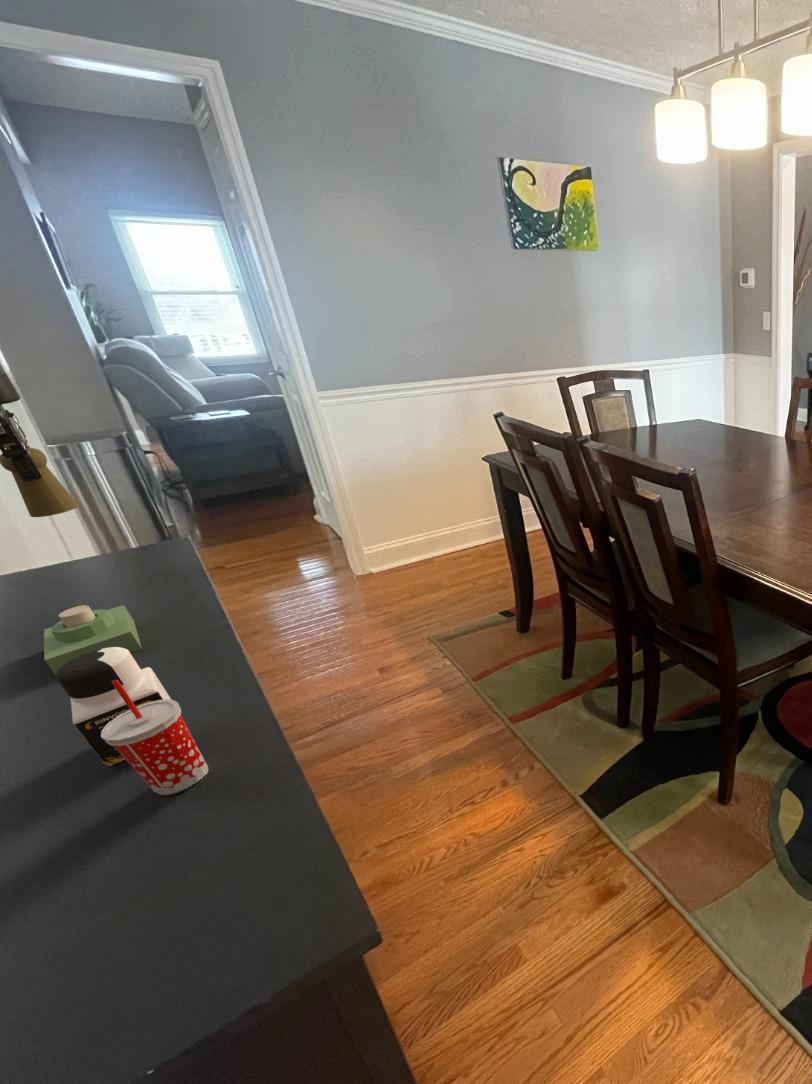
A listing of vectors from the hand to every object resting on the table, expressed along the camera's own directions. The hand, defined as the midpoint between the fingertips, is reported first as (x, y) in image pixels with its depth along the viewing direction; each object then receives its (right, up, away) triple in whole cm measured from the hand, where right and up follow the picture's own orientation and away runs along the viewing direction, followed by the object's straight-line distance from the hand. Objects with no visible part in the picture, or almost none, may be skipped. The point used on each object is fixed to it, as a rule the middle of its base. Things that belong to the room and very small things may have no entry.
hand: (33, 475), depth 102 cm
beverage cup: (+60, -39, -35) cm, 80 cm away
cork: (0, -6, +3) cm, 7 cm away
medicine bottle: (+49, -37, -29) cm, 67 cm away
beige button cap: (+23, -24, -13) cm, 36 cm away
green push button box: (+23, -28, -11) cm, 38 cm away
